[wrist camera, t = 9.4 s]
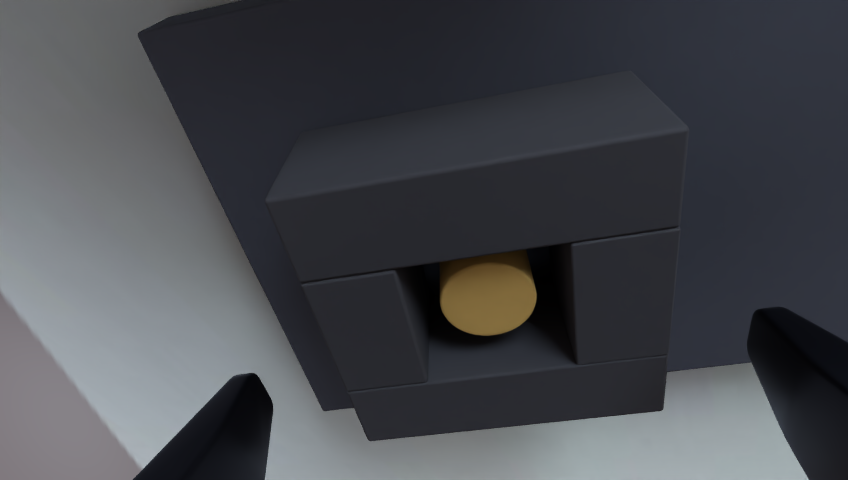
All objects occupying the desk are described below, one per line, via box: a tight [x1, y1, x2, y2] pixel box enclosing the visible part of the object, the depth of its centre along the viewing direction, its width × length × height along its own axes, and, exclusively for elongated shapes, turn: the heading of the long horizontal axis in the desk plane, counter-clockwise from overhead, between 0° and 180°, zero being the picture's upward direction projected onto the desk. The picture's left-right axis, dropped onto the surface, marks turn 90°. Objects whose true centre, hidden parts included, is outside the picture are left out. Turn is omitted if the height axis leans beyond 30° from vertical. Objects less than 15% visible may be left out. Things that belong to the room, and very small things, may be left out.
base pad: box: [138, 0, 848, 411], centre depth 12 cm, size 20×12×4 cm, turn 102°
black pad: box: [265, 71, 689, 441], centre depth 12 cm, size 7×7×3 cm
